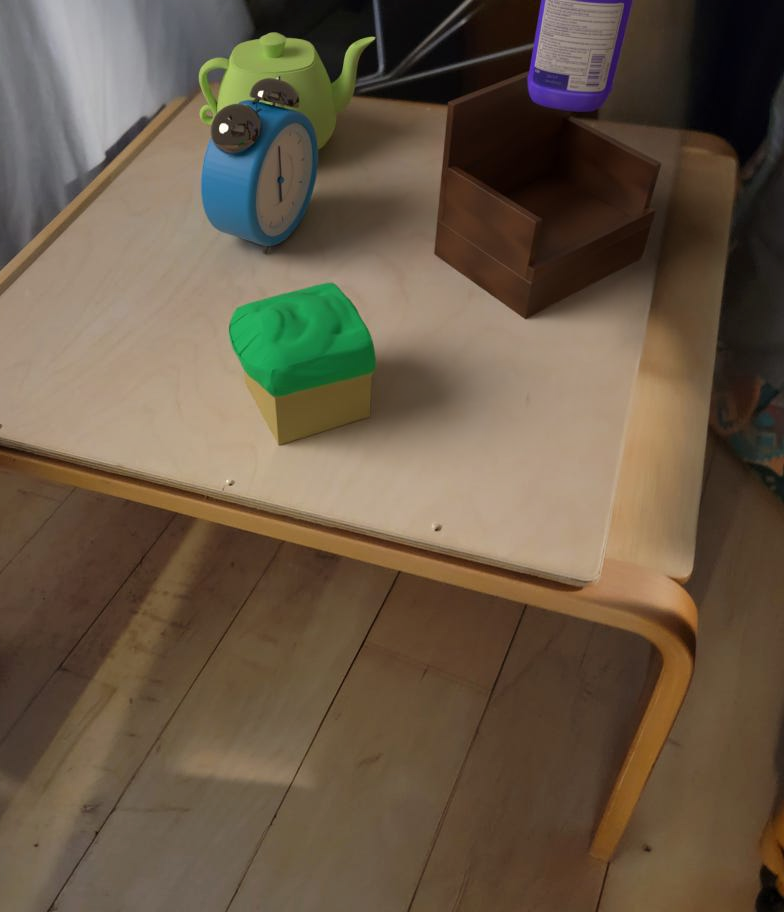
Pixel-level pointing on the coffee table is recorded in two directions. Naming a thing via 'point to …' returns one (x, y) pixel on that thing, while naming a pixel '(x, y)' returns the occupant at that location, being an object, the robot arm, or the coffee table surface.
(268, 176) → the alarm clock
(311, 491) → the coffee table surface
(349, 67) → the teapot
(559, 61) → the bottle
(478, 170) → the box
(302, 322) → the cake
